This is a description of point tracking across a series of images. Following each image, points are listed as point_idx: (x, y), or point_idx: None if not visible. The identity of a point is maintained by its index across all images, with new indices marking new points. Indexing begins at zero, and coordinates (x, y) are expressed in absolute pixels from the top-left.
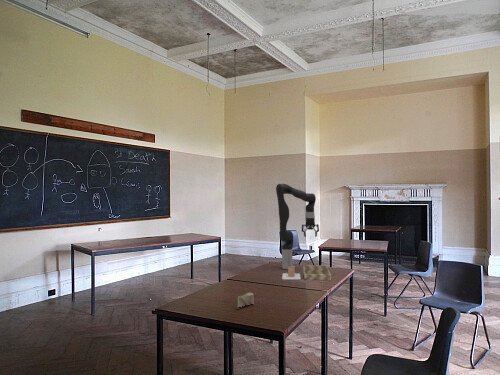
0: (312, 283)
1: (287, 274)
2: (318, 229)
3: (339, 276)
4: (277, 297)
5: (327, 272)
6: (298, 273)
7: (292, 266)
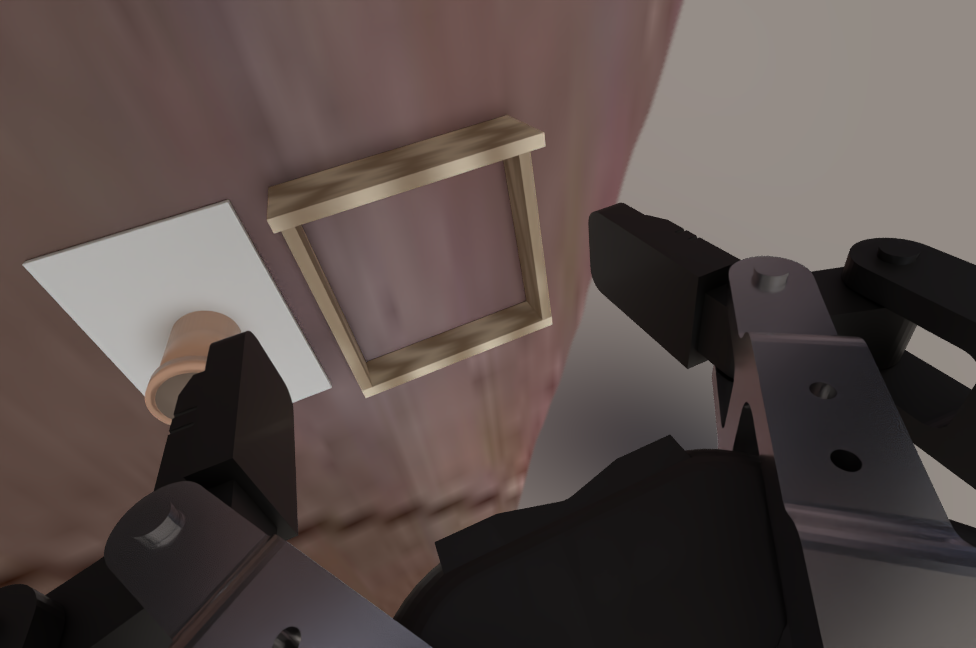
0: (435, 424)
1: (123, 294)
2: (920, 404)
3: (593, 176)
4: None
5: (513, 169)
6: (215, 209)
7: None
